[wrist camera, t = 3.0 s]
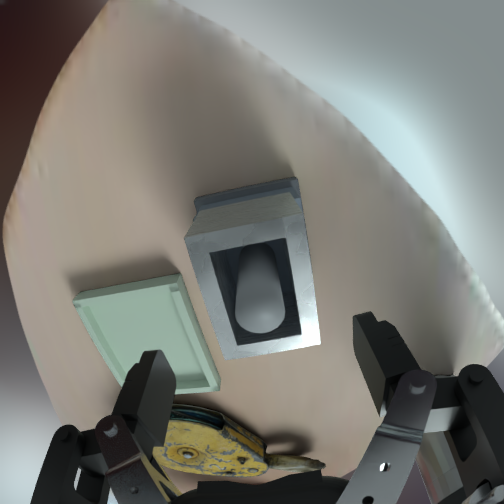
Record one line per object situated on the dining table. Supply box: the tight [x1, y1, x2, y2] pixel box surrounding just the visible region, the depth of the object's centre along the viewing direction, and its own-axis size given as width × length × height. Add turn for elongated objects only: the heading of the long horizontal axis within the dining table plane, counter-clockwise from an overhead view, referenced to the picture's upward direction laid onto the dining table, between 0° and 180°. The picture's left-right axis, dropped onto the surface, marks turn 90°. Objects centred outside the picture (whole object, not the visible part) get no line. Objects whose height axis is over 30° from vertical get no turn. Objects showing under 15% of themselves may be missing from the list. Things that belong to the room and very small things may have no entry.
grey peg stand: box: [193, 177, 312, 333], centre depth 20 cm, size 8×8×12 cm
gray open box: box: [184, 192, 320, 360], centre depth 18 cm, size 6×8×5 cm
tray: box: [72, 273, 221, 394], centre depth 29 cm, size 12×14×2 cm
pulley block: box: [153, 404, 326, 477], centre depth 34 cm, size 14×6×30 cm
